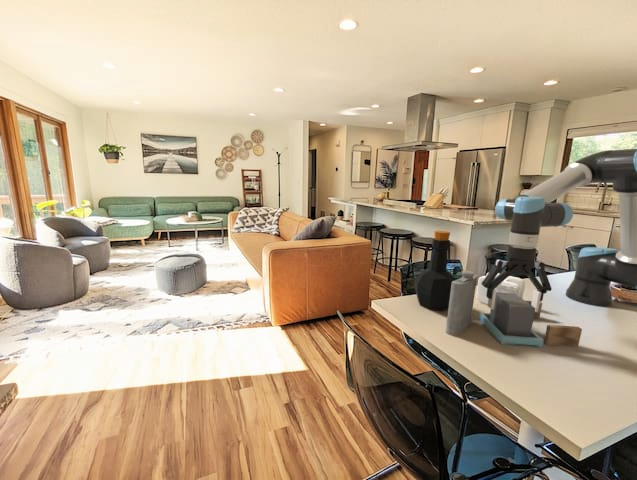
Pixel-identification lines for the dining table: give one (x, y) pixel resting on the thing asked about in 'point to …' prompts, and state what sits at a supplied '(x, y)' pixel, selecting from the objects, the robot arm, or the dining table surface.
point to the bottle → (436, 276)
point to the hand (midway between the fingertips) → (512, 308)
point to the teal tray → (510, 340)
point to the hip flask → (461, 303)
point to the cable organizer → (501, 288)
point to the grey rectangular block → (512, 315)
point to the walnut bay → (560, 333)
